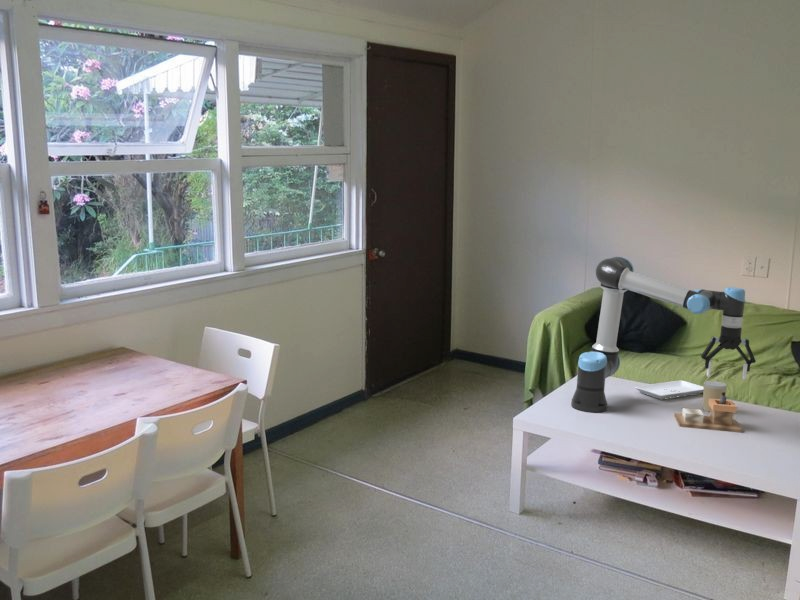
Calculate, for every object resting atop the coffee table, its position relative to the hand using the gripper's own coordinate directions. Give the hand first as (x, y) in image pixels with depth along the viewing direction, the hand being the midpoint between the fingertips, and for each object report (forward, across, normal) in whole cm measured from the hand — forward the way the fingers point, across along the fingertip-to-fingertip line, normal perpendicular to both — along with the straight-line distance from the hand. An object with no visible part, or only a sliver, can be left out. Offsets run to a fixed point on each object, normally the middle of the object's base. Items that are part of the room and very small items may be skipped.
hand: (726, 377), depth 297 cm
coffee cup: (+20, +1, +21) cm, 29 cm away
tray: (+20, -13, +42) cm, 49 cm away
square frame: (+13, 0, 0) cm, 13 cm away
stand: (+20, -5, 0) cm, 21 cm away
